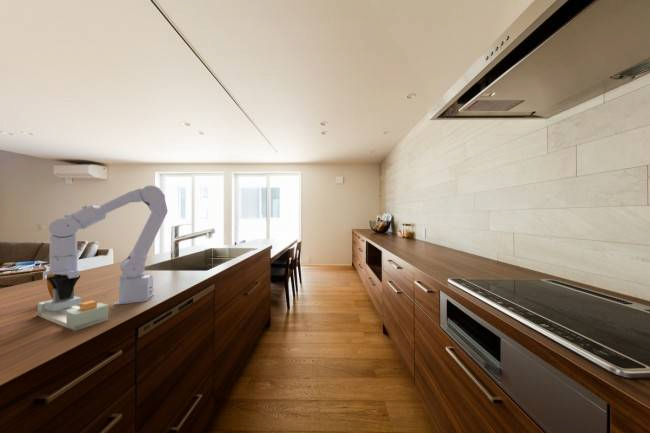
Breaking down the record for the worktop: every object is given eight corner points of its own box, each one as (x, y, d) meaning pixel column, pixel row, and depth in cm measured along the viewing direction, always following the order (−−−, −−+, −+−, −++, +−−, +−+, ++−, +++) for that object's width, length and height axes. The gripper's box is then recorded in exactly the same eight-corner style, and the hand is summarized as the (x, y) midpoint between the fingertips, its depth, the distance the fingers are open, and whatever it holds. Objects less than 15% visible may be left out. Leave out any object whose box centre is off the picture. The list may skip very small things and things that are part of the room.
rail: (37, 315, 68) (37, 301, 68) (69, 307, 75) (70, 294, 75) (74, 330, 59) (75, 314, 59) (108, 319, 65) (108, 305, 65)
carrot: (51, 304, 78) (52, 262, 78) (42, 303, 79) (42, 262, 79) (70, 299, 82) (70, 260, 83) (61, 298, 83) (61, 259, 84)
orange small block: (79, 317, 62) (79, 303, 62) (92, 313, 65) (92, 300, 65) (84, 318, 61) (84, 304, 61) (96, 314, 64) (96, 301, 64)
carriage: (44, 308, 68) (44, 289, 68) (72, 301, 73) (72, 283, 73) (53, 311, 65) (53, 291, 65) (81, 303, 71) (81, 285, 71)
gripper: (34, 256, 68) (34, 299, 68) (54, 259, 63) (54, 306, 63) (67, 253, 75) (67, 292, 75) (88, 255, 69) (88, 297, 69)
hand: (63, 297), depth 69 cm, fingers closed on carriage, 2 cm apart
